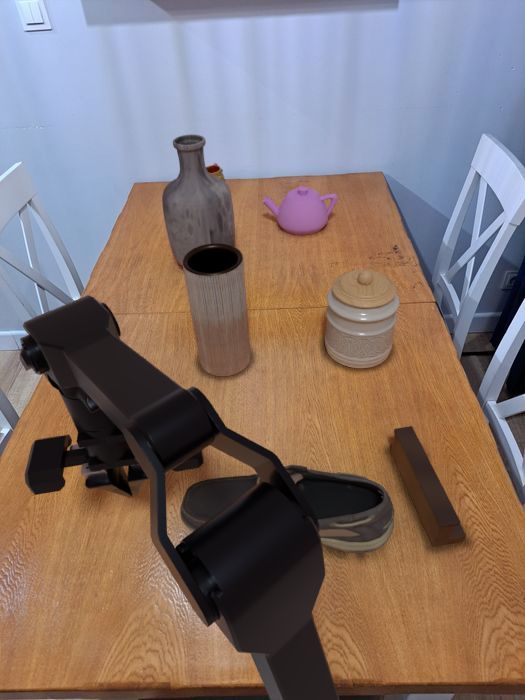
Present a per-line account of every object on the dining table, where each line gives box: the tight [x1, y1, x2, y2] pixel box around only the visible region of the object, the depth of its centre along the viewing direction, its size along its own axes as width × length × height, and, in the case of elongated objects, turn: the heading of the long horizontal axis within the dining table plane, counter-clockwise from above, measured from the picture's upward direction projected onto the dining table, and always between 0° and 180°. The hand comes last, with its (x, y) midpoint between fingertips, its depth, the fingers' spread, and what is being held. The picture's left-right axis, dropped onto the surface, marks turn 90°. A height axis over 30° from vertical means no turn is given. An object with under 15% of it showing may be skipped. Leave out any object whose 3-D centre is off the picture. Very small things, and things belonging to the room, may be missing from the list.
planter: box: [182, 243, 252, 377], centre depth 88 cm, size 10×10×23 cm
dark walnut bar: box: [390, 425, 467, 548], centre depth 70 cm, size 16×5×6 cm, turn 9°
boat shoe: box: [179, 464, 395, 554], centre depth 66 cm, size 11×29×11 cm, turn 88°
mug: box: [206, 162, 226, 182], centre depth 154 cm, size 12×7×7 cm, turn 173°
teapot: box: [262, 185, 339, 236], centre depth 131 cm, size 14×20×11 cm
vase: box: [161, 134, 236, 267], centre depth 112 cm, size 16×16×30 cm
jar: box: [324, 268, 401, 369], centre depth 90 cm, size 13×13×18 cm
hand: (134, 493), depth 60 cm, fingers closed
